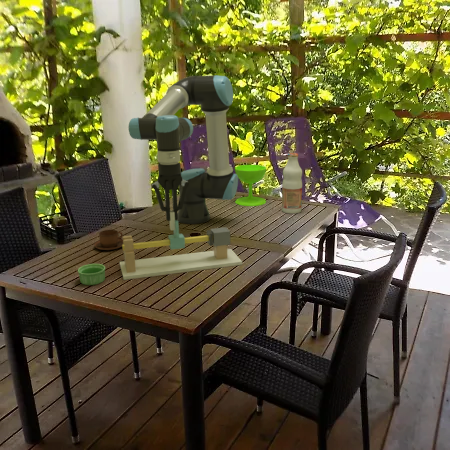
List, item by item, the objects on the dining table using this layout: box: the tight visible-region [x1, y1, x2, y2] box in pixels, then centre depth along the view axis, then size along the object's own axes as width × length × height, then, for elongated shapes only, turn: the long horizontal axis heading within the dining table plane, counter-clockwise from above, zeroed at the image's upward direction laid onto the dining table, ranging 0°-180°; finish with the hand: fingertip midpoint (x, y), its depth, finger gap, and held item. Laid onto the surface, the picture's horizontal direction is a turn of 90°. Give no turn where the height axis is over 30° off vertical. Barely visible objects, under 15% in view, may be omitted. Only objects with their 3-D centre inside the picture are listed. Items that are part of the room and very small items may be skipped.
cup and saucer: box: [93, 229, 124, 251], centre depth 201 cm, size 12×12×6 cm
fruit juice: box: [281, 152, 303, 215], centre depth 242 cm, size 9×9×28 cm
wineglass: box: [234, 164, 267, 207], centre depth 261 cm, size 16×16×18 cm
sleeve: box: [168, 220, 186, 250], centre depth 179 cm, size 5×5×10 cm
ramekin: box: [77, 263, 106, 286], centre depth 170 cm, size 9×9×4 cm
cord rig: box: [119, 226, 243, 281], centre depth 181 cm, size 14×42×12 cm, turn 106°
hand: (172, 229), depth 178 cm, fingers closed
